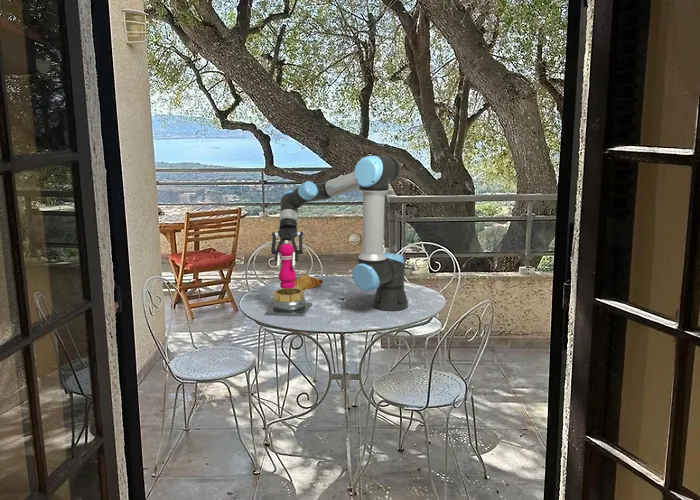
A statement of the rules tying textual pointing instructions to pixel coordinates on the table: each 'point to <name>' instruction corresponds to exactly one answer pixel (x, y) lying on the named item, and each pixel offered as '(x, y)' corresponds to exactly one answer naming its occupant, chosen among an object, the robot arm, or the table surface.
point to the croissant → (306, 282)
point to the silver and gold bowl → (289, 303)
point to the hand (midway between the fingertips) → (286, 267)
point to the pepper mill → (287, 266)
